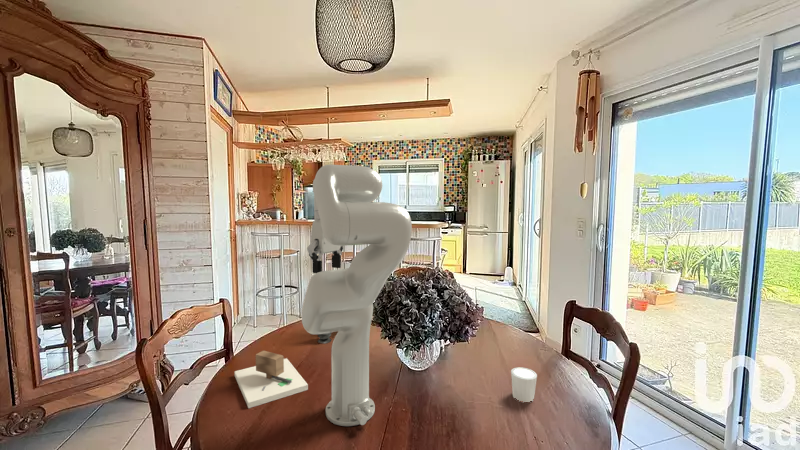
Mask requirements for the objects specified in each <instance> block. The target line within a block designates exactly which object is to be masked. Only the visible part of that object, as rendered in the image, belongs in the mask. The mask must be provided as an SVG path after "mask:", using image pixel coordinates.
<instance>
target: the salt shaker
mask: <svg viewBox="0 0 800 450" xmlns="http://www.w3.org/2000/svg"><path fill="white" fill-rule="evenodd" d="M332 333H333V332H330V333H324V334H317V337H318V338H319V339H318V340H317V343H319V344H322V345H323V344H324V345H325V344H328V343H331V342H332V338H330V337H332Z"/></svg>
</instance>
